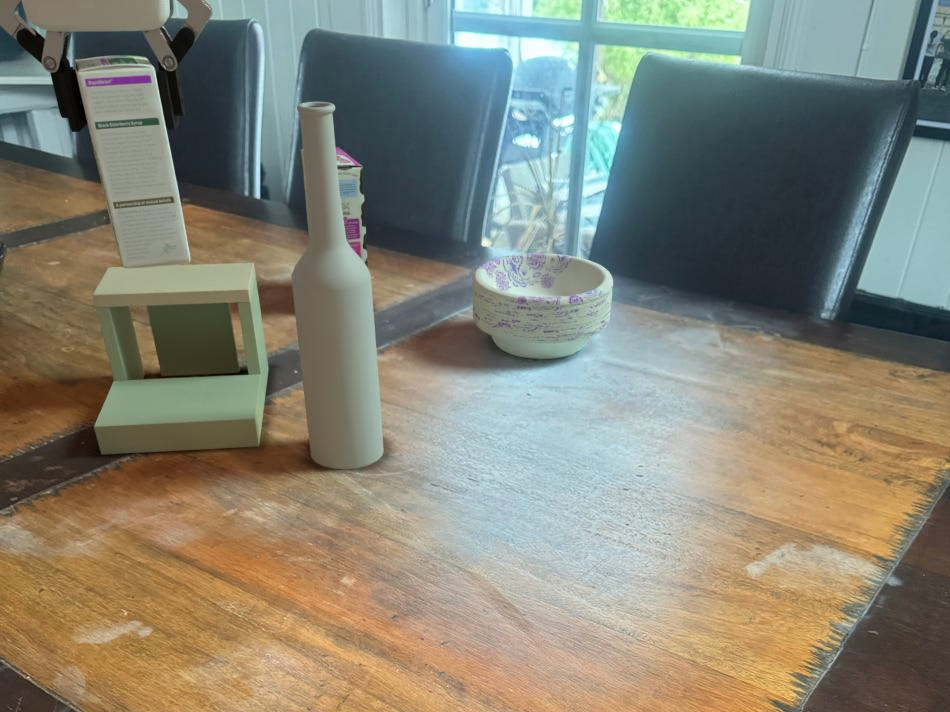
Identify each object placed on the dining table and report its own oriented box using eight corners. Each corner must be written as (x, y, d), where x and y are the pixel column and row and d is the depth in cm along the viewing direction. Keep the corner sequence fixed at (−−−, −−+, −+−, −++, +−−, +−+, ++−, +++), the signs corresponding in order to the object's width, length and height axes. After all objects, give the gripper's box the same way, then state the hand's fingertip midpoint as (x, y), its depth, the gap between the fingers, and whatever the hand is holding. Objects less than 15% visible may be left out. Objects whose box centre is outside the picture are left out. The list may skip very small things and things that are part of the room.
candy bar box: (373, 313, 114) (364, 164, 104) (333, 318, 113) (319, 168, 102) (350, 284, 122) (339, 144, 112) (312, 289, 121) (297, 147, 111)
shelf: (101, 457, 85) (68, 335, 78) (133, 376, 99) (108, 267, 92) (259, 448, 86) (240, 328, 79) (269, 370, 100) (253, 262, 93)
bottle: (372, 433, 89) (347, 94, 72) (392, 464, 84) (371, 109, 67) (303, 444, 87) (261, 99, 70) (320, 477, 82) (279, 115, 65)
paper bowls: (534, 383, 98) (538, 307, 93) (445, 340, 107) (444, 269, 102) (635, 348, 106) (643, 276, 101) (544, 311, 115) (547, 243, 110)
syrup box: (193, 263, 79) (159, 63, 70) (120, 270, 78) (75, 66, 69) (183, 244, 84) (150, 53, 75) (113, 251, 82) (71, 56, 73)
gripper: (-89, -176, 59) (-1, 140, 71) (191, -172, 61) (234, 135, 72) (-53, -170, 65) (24, 120, 76) (203, -167, 67) (241, 117, 78)
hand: (126, 125), depth 74 cm, fingers closed on syrup box, 6 cm apart
